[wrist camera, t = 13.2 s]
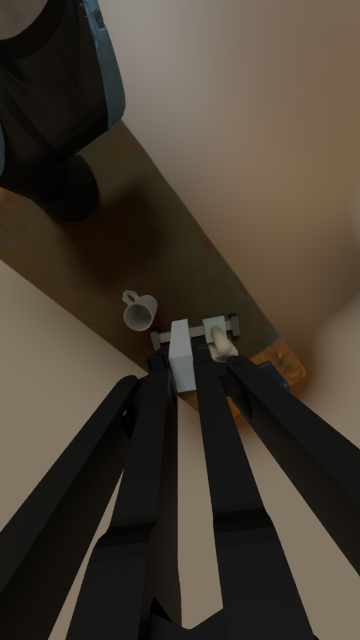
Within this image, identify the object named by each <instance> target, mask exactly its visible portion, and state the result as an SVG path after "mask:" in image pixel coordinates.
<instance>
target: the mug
mask: <svg viewBox="0 0 360 640" xmlns="http://www.w3.org/2000/svg"><path fill="white" fill-rule="evenodd" d="M128 295H130V296H132V297H133V298H134V299H135V302H132V301H131V300H130V299H129V297H128ZM122 300H123V301H124V302H126V303H127V304H128V307H127V308H126V309H125V311H124V321H125V323H126V325H127V326H128V327H129V328H131V329H133V330H135V331H143V330H146V329H148V328H149V327H150V326H151V324H152V321H153V319H154V316H155V314H156V311H157V308H158V303H157V301H156V299H155V298H154V297H152V296H150V295H144V296H142V297H139V296H138V295H137V294H136V293H135V292H133V291H125V292H124V293H123V298H122Z"/></svg>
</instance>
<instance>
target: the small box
mask: <svg viewBox="0 0 360 640" xmlns="http://www.w3.org/2000/svg"><path fill="white" fill-rule="evenodd" d="M256 366H258V367H259V368H260V369H261V370H263V371H264V372H265V373H266V374H268V375H269V376H270V377H271V378H272V379H274V380H275V381H276V382H277V383H279V384H280V385H281V386H282V387H284V388H285V389H286V390H287V391H289V392H290V388H289V385H288V382H287V381H286V379H285V378H284V377H283V376H282V375H281V374H280V373H279V371H278V370H277V369H276V368H275V367H274V366H273V365H272V363H271V362H270V361H267V362H265V363H262V364H259V365H256ZM290 393H291V392H290Z"/></svg>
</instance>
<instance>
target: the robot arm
mask: <svg viewBox="0 0 360 640" xmlns="http://www.w3.org/2000/svg"><path fill="white" fill-rule="evenodd" d="M124 110H125V94H124V88H123V83H122V79H121V75H120V71H119V67H118V63H117V60H116V56H115V53H114V49H113V46H112V43H111V40H110V37H109V34H108V30H107V28H106V26H105V24H104V22H103V17H102V14H101V11H100V7H99V4H98V1H97V0H0V187H2V188H4V189H7V190H9V191H12V192H14V193H17V194H19V195H22V196H24V197H27V198H29V199H31V200H33V201H34V202H35V203H36V204H37V205H38V206H39V207H40V208H41V209H42V210H44V211H45V212H46V213H48V214H49V215H51V216H53V217H55V218H57V219H60V220H63V221H66V222H77V221H81V220H83V219H84V218H86V217H87V216H88V215H89V214H90V213H91V212H92V210H93V208H94V206H95V203H96V199H97V186H96V181H95V178H94V175H93V173H92V171H91V169H90V167H89V165H88V164H87V163H86V161H85V160H84V159H83V158H82V157H81V156H80V155H79V154H78V153H77V152H79V151H80V150H81V149H83V148H84V147H85V146H87V145H88V144H89V143H91V142H92V141H93V140H95V139H96V138H97V137H99V136H100V135H101V134H103V133H104V132H108V131H109V130H110V128H111V126H112V125H113V124H115V123H116V122H117V121H118V120H119V119H120V118H121V117H122V116H123V114H124ZM146 363H147V366H148V369H149V374H148V375H147V376H145V377H142V378H140V379H137V377H136V376H135V375H129V376H126V377H124V378H122V379H120V380H119V381H118V382H117V384H116V385H115V386H114V388H113V389H112V390H111V391H110V393H109V394H108V395H107V396H106V398H105V399H104V400H103V402H102V403H101V404H100V405H99V407H98V408H97V409H96V411H95V412H94V413H93V414H92V416H91V417H90V418H89V420H88V421H87V422H86V423H85V425H84V426H83V427H82V428H81V430H80V431H79V432H78V434H77V435H76V436H75V437H74V439H73V440H72V441H71V443H70V444H69V445H68V446H67V448H66V449H65V450H64V452H63V453H62V454H61V455H60V457H59V458H58V459H57V461H56V462H55V463H54V464H53V466H52V467H51V468H50V469H49V471H48V472H47V473H46V475H45V476H44V477H43V478H42V480H41V481H40V482H39V483H38V485H37V486H36V487H35V489H34V490H33V491H32V493H31V494H30V495H29V496H28V498H27V499H26V500H25V501H24V503H23V504H22V505H21V507H20V508H19V509H18V510H17V512H16V513H15V514H14V515H13V517H12V518H11V519H10V521H9V522H8V523H7V525H6V526H5V527H4V528H3V530H2V531H1V532H0V640H48V638H49V636H50V634H51V631H52V629H53V627H54V625H55V622H56V620H57V618H58V616H59V613H60V611H61V609H62V607H63V604H64V602H65V600H66V598H67V595H68V593H69V591H70V589H71V586H72V584H73V582H74V580H75V577H76V575H77V573H78V570H79V568H80V566H81V564H82V561H83V559H84V557H85V555H86V553H87V550H88V548H89V546H90V544H91V541H92V539H93V537H94V535H95V532H96V530H97V528H98V526H99V523H100V521H101V519H102V517H103V514H104V512H105V510H106V508H107V505H108V503H109V501H110V499H111V496H112V494H113V492H114V490H115V487H116V485H117V483H118V481H119V478H120V476H121V474H122V472H123V476H122V479H121V483H120V487H119V491H118V495H117V499H116V503H115V506H114V510H113V514H112V518H111V522H110V525H109V528H108V530H107V531H106V533H105V534H104V535H103V536H101V537H100V538H99V539H98V541H97V543H96V544H95V546H94V548H93V551H92V554H91V556H90V559H89V562H88V565H87V569H86V572H85V575H84V579H83V582H82V585H81V589H80V592H79V595H78V599H77V602H76V606H75V609H74V612H73V616H72V619H71V622H70V626H69V629H68V633H67V636H66V639H65V640H319V639H318V638H317V637H316V636H315V635H314V634H313V632H312V629H311V626H310V624H309V621H308V618H307V615H306V612H305V609H304V607H303V604H302V601H301V598H300V595H299V593H298V590H297V587H296V584H295V581H294V579H293V576H292V573H291V570H290V568H289V565H288V562H287V559H286V557H285V554H284V551H283V548H282V545H281V543H280V540H279V537H278V535H277V532H276V529H275V527H274V525H273V522H272V520H271V518H270V516H269V515H268V514H267V512H266V510H265V508H264V505H263V502H262V499H261V497H260V494H259V491H258V488H257V485H256V482H255V479H254V476H253V474H252V470H251V468H250V465H249V462H248V459H247V456H246V453H245V450H244V447H243V444H242V441H241V439H240V436H239V433H238V430H237V427H236V424H235V421H234V418H233V415H232V412H231V409H230V407H229V404H228V401H227V398H226V396H227V397H231V399H232V401H233V402H234V403H235V405H236V406H237V407H238V409H239V410H240V412H241V413H242V414H243V416H244V417H245V419H246V420H247V421H248V423H249V424H250V425H251V427H252V428H253V430H254V431H255V432H256V433H257V435H258V436H259V438H260V439H261V441H262V442H263V443H264V445H265V446H266V448H267V449H268V450H269V452H270V453H271V454H272V456H273V457H274V458H275V460H276V461H277V463H278V464H279V465H280V467H281V468H282V470H283V471H284V472H285V474H286V475H287V476H288V478H289V479H290V480H291V482H292V483H293V485H294V486H295V487H296V489H297V490H298V492H299V493H300V494H301V496H302V497H303V499H304V500H305V501H306V503H307V504H308V505H309V507H310V508H311V510H312V511H313V512H314V514H315V515H316V517H317V518H318V519H319V521H320V522H321V523H322V525H323V526H324V527H325V529H326V530H327V532H328V533H329V535H330V536H331V537H332V539H333V540H334V541H335V543H336V544H337V546H338V547H339V548H340V550H341V551H342V552H343V554H344V555H345V557H346V558H347V559H348V561H349V562H350V563H351V565H352V566H353V568H354V569H355V570H356V572H357V573H358V575H359V576H360V449H359V448H358V447H356V446H355V445H354V444H352V443H351V442H350V441H349V440H348V439H346V438H345V437H344V436H343V435H341V434H340V433H339V432H338V431H337V430H335V429H334V428H333V427H332V426H330V425H329V424H328V423H327V422H325V421H324V420H323V419H322V418H320V417H319V416H318V415H317V414H316V413H314V412H313V411H312V410H310V409H309V408H308V407H307V406H306V405H304V404H303V403H302V402H301V401H300V400H298V399H297V398H296V397H295V396H293V395H292V394H291V393H290V392H289V391H287V390H286V389H285V388H284V387H282V386H281V385H280V384H279V383H277V382H276V381H275V380H274V379H272V378H271V377H270V376H269V375H268V374H266V373H265V372H264V371H263V370H261V369H260V368H259V367H258V366H256V365H255V364H254V363H253V362H252V361H250V360H249V359H248V358H246V357H244V356H239V355H236V356H231V357H229V358H228V359H227V360H226V362H217V361H215V360H213V358H212V357H211V355H210V352H209V349H208V346H207V343H206V340H204V339H203V338H200V339H194V340H191V337H190V332H189V327H188V322H187V319H184V320H179V321H174V322H172V328H171V338H170V345H165V346H161V347H160V348H159V349H158V352H157V353H155V354H152V355H150V356H149V357H148V358H147V359H146ZM176 389H177V392H183V391H189V390H195V389H196V392H197V399H198V407H199V414H200V422H201V429H202V437H203V444H204V452H205V459H206V467H207V474H208V482H209V489H210V497H211V504H212V512H213V528H214V538H215V547H216V555H217V563H218V571H219V578H220V586H221V594H222V602H223V609H221V610H220V611H218V612H217V613H215V614H214V615H212V616H211V617H209V618H208V619H206V620H205V621H203V622H202V623H200V624H199V625H197V626H196V627H194V628H192V629H185V628H183V627H182V616H181V592H180V582H179V574H178V559H177V558H178V557H177V556H178V554H177V552H178V550H177V549H178V547H177V546H178V541H177V540H178V534H177V533H178V513H177V512H178V493H177V492H178V489H177V488H178V485H177V484H178V398H177V394H176ZM125 411H126V413H125V414H124V412H125ZM123 414H124V415H123ZM123 469H124V471H123Z"/></svg>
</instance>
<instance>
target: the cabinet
mask: <svg viewBox="0 0 360 640" xmlns="http://www.w3.org/2000/svg"><path fill="white" fill-rule="evenodd" d="M227 340H228V341H229V343H230V344H231V346H232V351H231V352H230V353H229V354H227V355H222V354H220V353H219V352H218V349H217V347H216V345H215V342H210V343H208V348H209V352H210V355H211V357H212V358H213V360H215V361H217V362H226V360H227V359H228V358H229V357H231V356H236V355H238V353H237V350H236V349H235V347H234V345H233V344H232V342H231V341H230V339H227Z"/></svg>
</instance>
